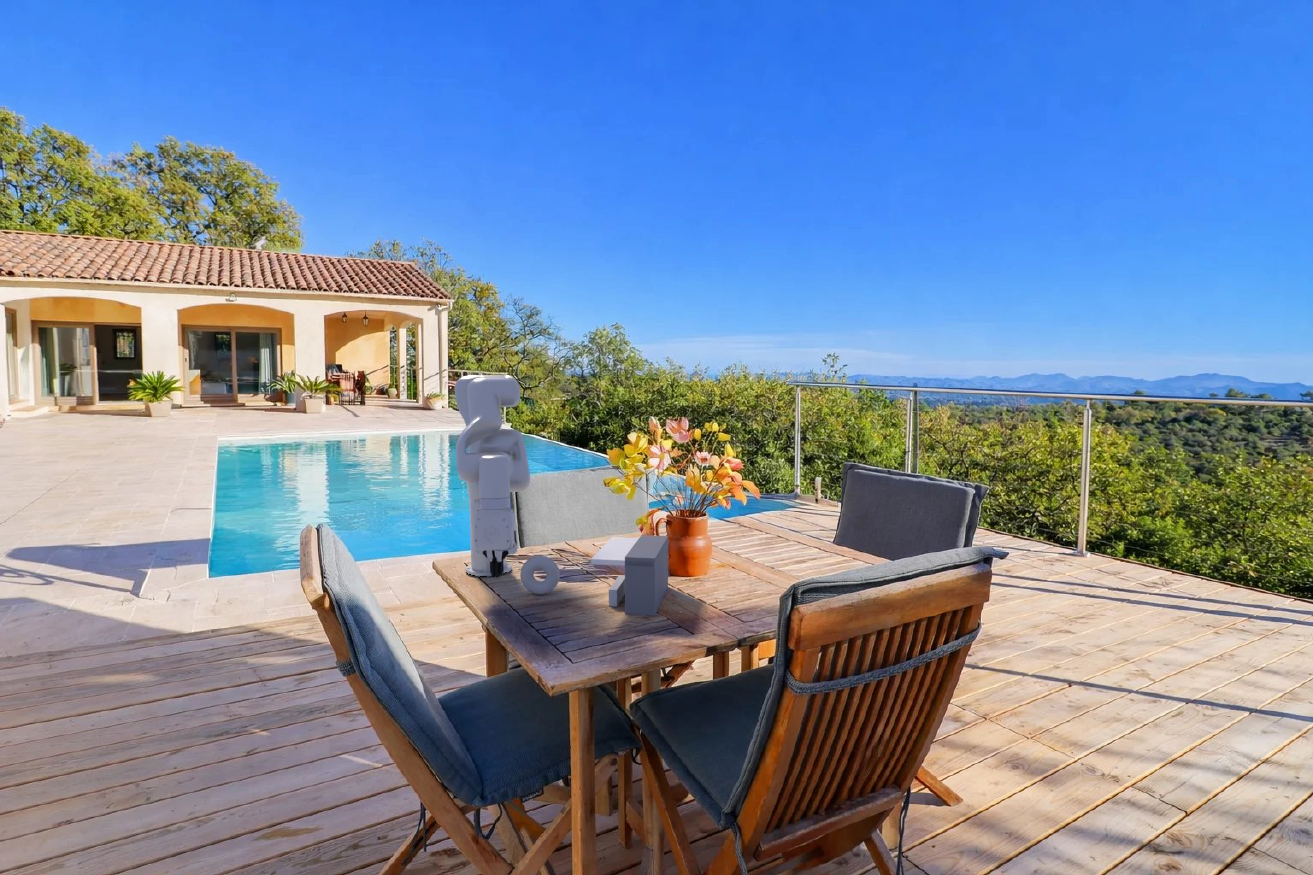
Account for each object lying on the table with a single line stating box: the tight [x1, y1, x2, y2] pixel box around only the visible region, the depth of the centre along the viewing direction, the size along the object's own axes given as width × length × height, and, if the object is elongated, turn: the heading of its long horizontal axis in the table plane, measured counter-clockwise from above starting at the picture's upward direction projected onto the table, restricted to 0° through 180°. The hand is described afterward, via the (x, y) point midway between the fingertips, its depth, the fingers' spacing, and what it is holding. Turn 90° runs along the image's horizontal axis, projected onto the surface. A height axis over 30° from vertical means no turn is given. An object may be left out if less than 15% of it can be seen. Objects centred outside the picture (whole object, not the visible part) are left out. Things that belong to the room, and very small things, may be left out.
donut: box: [519, 555, 561, 596], centre depth 177 cm, size 10×4×10 cm, turn 89°
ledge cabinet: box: [590, 534, 669, 617], centre depth 174 cm, size 22×15×14 cm
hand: (497, 576), depth 178 cm, fingers closed
